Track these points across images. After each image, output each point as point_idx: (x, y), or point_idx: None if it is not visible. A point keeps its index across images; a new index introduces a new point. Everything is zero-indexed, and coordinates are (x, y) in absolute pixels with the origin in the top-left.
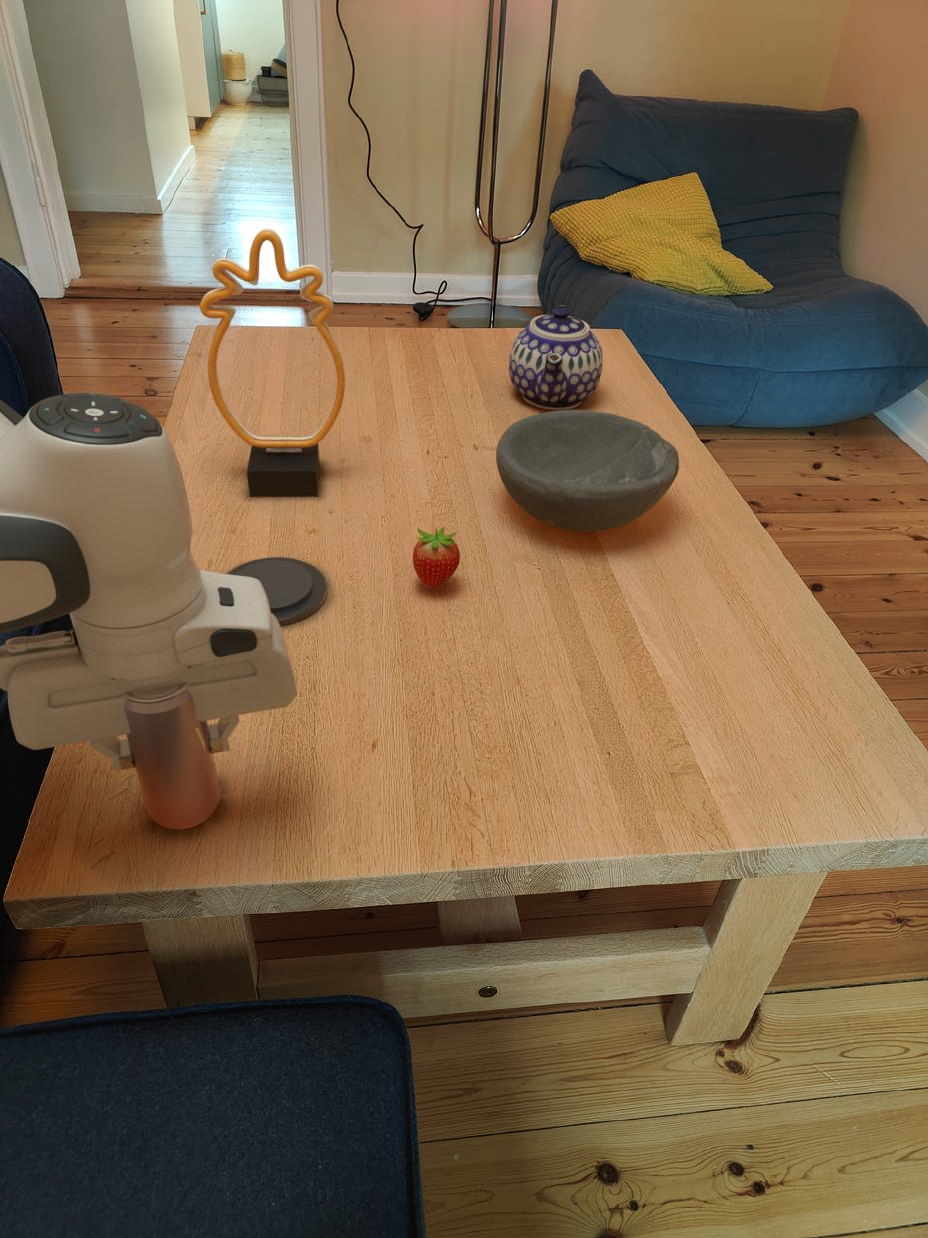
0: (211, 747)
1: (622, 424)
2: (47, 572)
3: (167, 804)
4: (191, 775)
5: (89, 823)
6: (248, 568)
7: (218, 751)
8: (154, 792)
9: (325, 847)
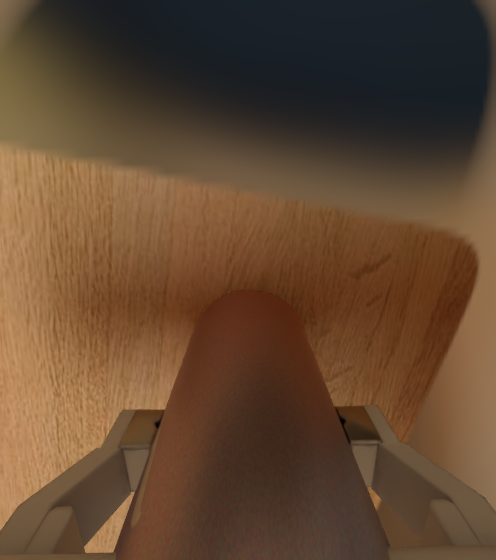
0: (154, 425)
1: None
2: None
3: (272, 319)
4: (210, 360)
5: (384, 334)
6: None
7: (145, 412)
8: (295, 342)
9: (25, 204)
